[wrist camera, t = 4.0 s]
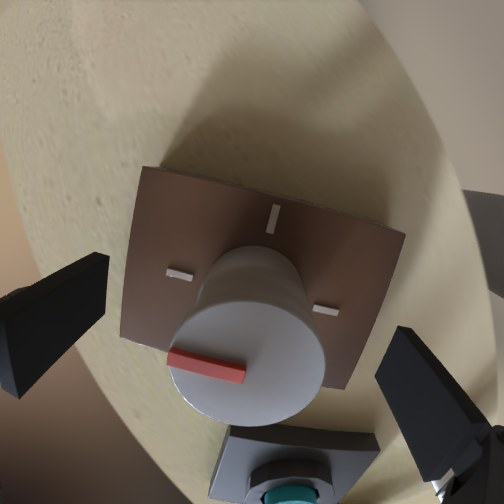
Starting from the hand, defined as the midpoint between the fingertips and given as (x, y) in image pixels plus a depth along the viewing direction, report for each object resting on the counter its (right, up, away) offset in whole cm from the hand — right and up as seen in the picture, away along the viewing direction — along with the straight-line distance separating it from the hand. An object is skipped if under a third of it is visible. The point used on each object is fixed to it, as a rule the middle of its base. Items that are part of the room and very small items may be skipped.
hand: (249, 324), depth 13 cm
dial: (0, +1, +4) cm, 4 cm away
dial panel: (0, +1, +6) cm, 6 cm away
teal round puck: (+3, -16, +6) cm, 18 cm away
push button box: (+3, -15, +10) cm, 19 cm away
